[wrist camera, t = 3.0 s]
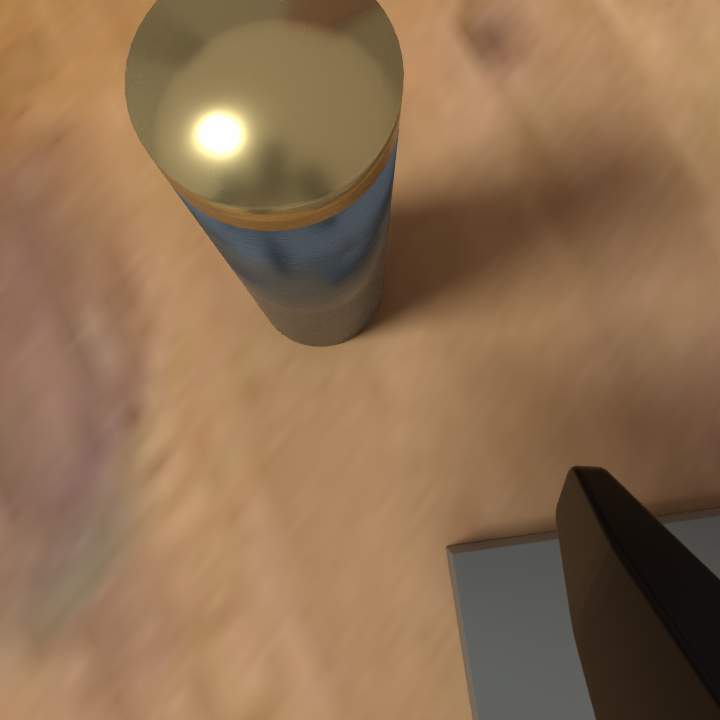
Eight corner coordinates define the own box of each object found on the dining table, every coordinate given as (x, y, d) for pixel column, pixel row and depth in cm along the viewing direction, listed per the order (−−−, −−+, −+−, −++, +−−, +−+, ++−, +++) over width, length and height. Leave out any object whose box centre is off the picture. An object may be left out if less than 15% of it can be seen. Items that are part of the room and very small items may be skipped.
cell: (266, 354, 21) (136, 225, 9) (253, 236, 21) (115, -30, 10) (390, 337, 21) (423, 186, 9) (372, 220, 22) (381, -64, 10)
